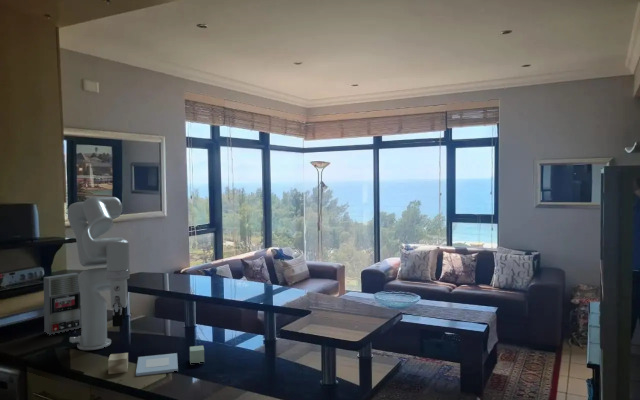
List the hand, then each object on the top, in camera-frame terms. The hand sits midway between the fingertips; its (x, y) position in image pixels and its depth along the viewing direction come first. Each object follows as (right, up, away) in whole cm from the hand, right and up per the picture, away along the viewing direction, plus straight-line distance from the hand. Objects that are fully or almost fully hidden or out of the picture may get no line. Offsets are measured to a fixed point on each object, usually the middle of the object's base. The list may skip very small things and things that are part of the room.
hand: (119, 322), depth 170 cm
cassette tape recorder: (-44, -16, +45) cm, 64 cm away
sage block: (+25, -17, +9) cm, 32 cm away
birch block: (0, -17, +1) cm, 17 cm away
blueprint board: (+12, -17, +5) cm, 21 cm away
